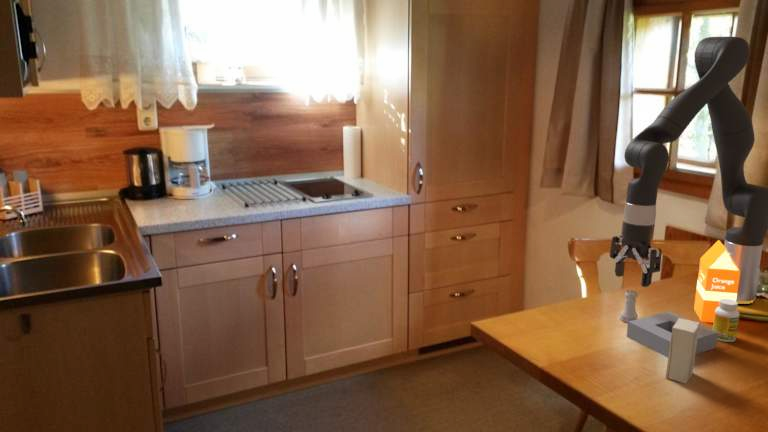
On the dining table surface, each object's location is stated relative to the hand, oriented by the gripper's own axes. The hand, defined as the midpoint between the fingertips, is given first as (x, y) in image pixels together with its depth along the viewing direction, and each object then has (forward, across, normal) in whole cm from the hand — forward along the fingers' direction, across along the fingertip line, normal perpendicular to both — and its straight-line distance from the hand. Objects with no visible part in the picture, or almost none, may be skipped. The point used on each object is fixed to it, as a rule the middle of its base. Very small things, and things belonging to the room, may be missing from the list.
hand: (632, 281), depth 163 cm
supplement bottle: (+11, -18, -13) cm, 25 cm away
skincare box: (+11, -26, +12) cm, 31 cm away
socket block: (+11, -14, +1) cm, 18 cm away
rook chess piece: (+11, 0, 0) cm, 11 cm away
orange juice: (+11, -8, -22) cm, 26 cm away
